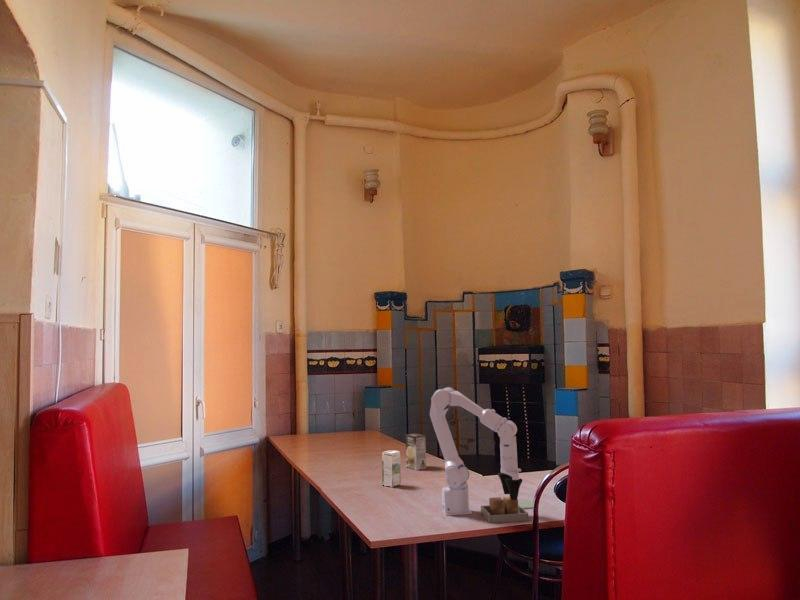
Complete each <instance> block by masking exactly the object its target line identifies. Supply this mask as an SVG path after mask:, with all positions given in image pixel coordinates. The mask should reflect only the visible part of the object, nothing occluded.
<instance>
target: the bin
mask: <svg viewBox="0 0 800 600" xmlns="http://www.w3.org/2000/svg"><path fill="white" fill-rule="evenodd" d="M480 512H481V515H483V516H484V518H485V520H487V522H488V523H489V524H493V523H494V524H498V523H509V522H510V523H513V522H528V521H529V513H528V512H527V511H526V509H523V508H521V507H520V506H519V505H518V513H519V514H503V515H490V504H488V505H480Z"/></svg>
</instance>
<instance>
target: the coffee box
mask: <svg viewBox="0 0 800 600" xmlns="http://www.w3.org/2000/svg"><path fill="white" fill-rule="evenodd" d="M404 436H405V439H404V440H405V467H406V468H407V467H408V468H407V469H410V468H411V470H413V471H420V469H421V470H425V469H427V453H426V452H427V447H426V446H427V445H426V440H427V439H426V435H424V434H421V433H408V434H405V435H404Z"/></svg>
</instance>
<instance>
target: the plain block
mask: <svg viewBox="0 0 800 600" xmlns="http://www.w3.org/2000/svg"><path fill="white" fill-rule="evenodd" d="M488 499H489V504H488V505H490V515H503V514H504V500H503V498H502V497H501V496H500V497H499V496H498V497H489V498H488Z"/></svg>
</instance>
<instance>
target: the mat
mask: <svg viewBox="0 0 800 600" xmlns="http://www.w3.org/2000/svg"><path fill="white" fill-rule="evenodd" d="M533 504H534V502H532V501H531V500H530V499H529V500H528V499H527V500H518V505H519V506H520V507H521V508H523V509H524V510H529V509H534V508H533Z"/></svg>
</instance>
